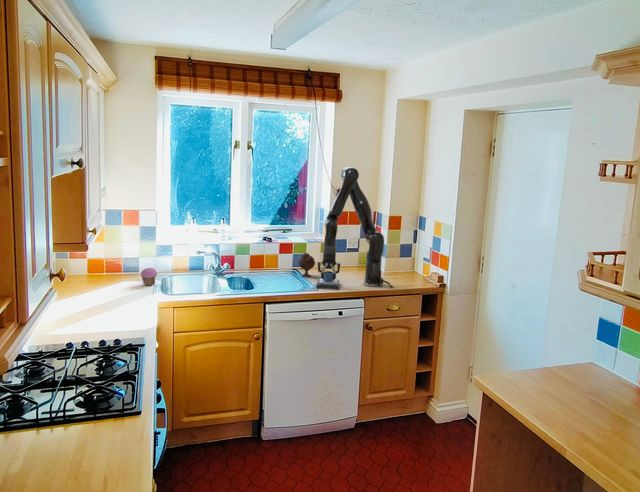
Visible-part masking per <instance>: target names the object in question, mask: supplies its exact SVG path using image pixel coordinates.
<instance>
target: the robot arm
mask: <svg viewBox="0 0 640 492" xmlns="http://www.w3.org/2000/svg"><path fill="white" fill-rule="evenodd" d="M359 175H360V173H359V170H358V169H357V168H355V167H351V166H346V167H344V168H342V170H341V172H340V177H341V180H342V184H341V187H340V190H339V192H338V193H337V195H336V196H335V198H334V199H333V202H332V205H331V207H330V210H329V212H328V214H327V216H326V218H325V221H324V224H323V225H324V228H325V235H324V238H323V250H322V253H323V254H322V261H317V271H318V273H320V279H323V272H324V271H326V270H331V271H332V272H334V277H333V280H337V274H339V273H340V269H341V262H336V259H337V258H336V257H337V256H336V255H337V236H338V235H337V234H338V220H339V218H340V217H341V215H342V214H343V212H344V209H345V206H346V204H347V201H348V199H349V198H350V200H351V203H352V206H353V209H354V212H355V214H356V217H357V219H358V221H359V223H360V225H361V228H362V230H363V233H364V239H365V241H366V242H367V244H368V245H369V246H368V251H366V259H365V278H364V285H365V286H368V287H381V285H384V283H385V284H387V285H388V286H389V287H390V288H394V285H392V284H391V283H390V282H389V281H387V280H384V277H382V261H383V260H382V256H383V253H384V247H385V236H384V235H383V233H381V231H380V232H379V231H378V230H377V229H376V226H375V224H374V221H373V213H372V208H371V205H370V202H369V200H368V198H367V196H366V194H365V193H364V192H363V190H362V189H361V187H360V185H359V182H358V180H359V178H360V176H359ZM321 266H323V267H322V269H321ZM335 266H336V267H337V269H336V268H335Z"/></svg>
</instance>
